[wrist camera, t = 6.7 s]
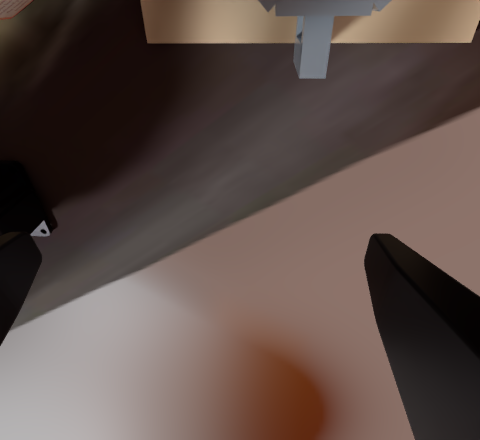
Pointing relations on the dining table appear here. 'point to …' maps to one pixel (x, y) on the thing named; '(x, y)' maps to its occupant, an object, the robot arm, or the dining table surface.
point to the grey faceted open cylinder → (318, 28)
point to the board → (284, 27)
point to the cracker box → (12, 7)
